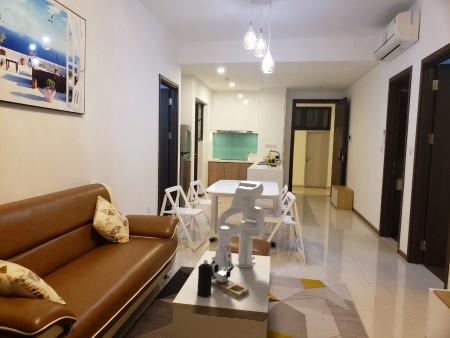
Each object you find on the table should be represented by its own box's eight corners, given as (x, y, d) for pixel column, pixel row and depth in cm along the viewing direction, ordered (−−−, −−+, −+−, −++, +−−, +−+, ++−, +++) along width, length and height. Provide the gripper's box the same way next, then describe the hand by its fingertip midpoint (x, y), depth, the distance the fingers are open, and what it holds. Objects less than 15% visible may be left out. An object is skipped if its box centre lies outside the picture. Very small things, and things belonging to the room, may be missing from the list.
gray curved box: (218, 279, 195) (213, 263, 195) (211, 280, 196) (207, 264, 197) (227, 268, 210) (223, 254, 210) (220, 269, 212) (216, 255, 212)
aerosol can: (212, 297, 173) (214, 262, 170) (198, 298, 170) (200, 263, 168) (209, 289, 180) (211, 257, 178) (195, 291, 178) (197, 257, 176)
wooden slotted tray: (220, 280, 193) (221, 276, 193) (248, 293, 179) (248, 288, 178) (210, 284, 186) (210, 280, 186) (238, 298, 172) (239, 294, 172)
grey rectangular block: (221, 282, 190) (222, 270, 189) (227, 285, 187) (228, 273, 186) (216, 285, 186) (216, 272, 185) (222, 288, 183) (222, 275, 182)
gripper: (238, 249, 181) (237, 277, 182) (217, 242, 192) (215, 268, 194) (230, 252, 175) (228, 281, 177) (209, 244, 187) (207, 271, 188)
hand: (222, 274), depth 185 cm, fingers open, 9 cm apart
